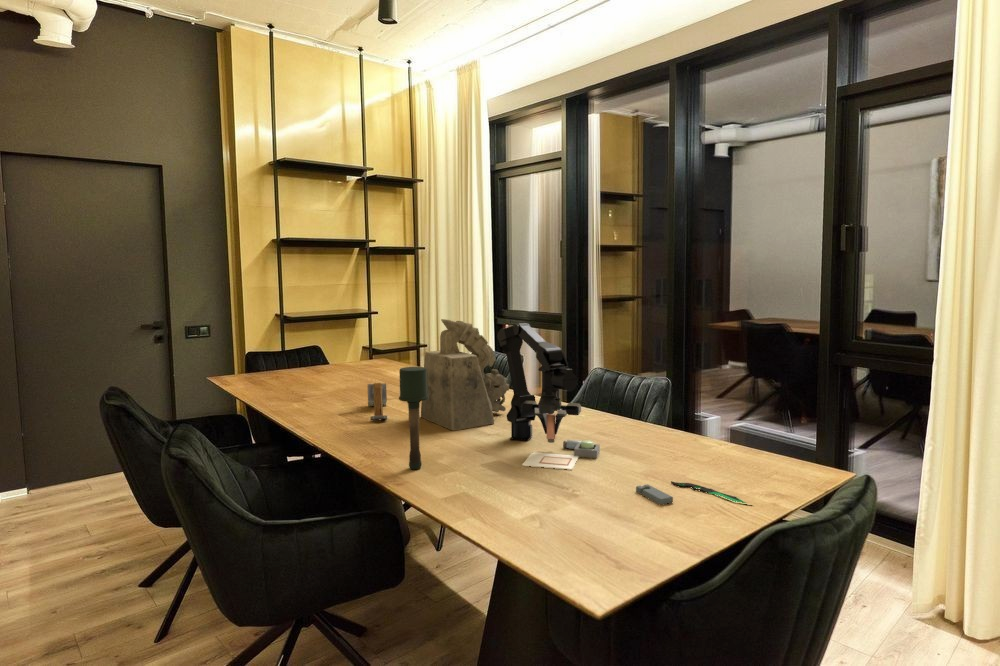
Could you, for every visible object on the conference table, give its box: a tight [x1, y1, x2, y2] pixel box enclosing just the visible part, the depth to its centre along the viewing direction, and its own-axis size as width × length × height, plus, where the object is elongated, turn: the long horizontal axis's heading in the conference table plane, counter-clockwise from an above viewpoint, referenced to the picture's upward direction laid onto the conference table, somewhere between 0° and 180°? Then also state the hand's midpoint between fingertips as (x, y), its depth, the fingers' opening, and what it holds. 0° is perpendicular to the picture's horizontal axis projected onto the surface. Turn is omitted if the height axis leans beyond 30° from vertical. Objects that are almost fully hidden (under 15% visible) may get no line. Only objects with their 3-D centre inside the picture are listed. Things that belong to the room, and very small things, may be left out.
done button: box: [580, 439, 595, 449], centre depth 193 cm, size 4×4×2 cm
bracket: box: [635, 484, 674, 506], centre depth 157 cm, size 4×10×2 cm, turn 23°
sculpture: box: [420, 318, 510, 431], centre depth 242 cm, size 27×33×40 cm
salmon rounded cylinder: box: [546, 413, 556, 443], centre depth 197 cm, size 3×3×9 cm
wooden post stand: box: [367, 382, 388, 421], centre depth 253 cm, size 8×17×30 cm
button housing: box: [573, 443, 601, 459], centre depth 194 cm, size 7×7×2 cm
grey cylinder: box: [562, 439, 582, 450], centre depth 200 cm, size 9×3×3 cm
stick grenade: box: [398, 366, 428, 471], centre depth 180 cm, size 8×9×30 cm
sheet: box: [521, 452, 580, 471], centre depth 187 cm, size 15×13×1 cm
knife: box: [670, 480, 747, 503], centre depth 159 cm, size 23×1×5 cm
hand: (550, 434), depth 197 cm, fingers closed on salmon rounded cylinder, 3 cm apart
